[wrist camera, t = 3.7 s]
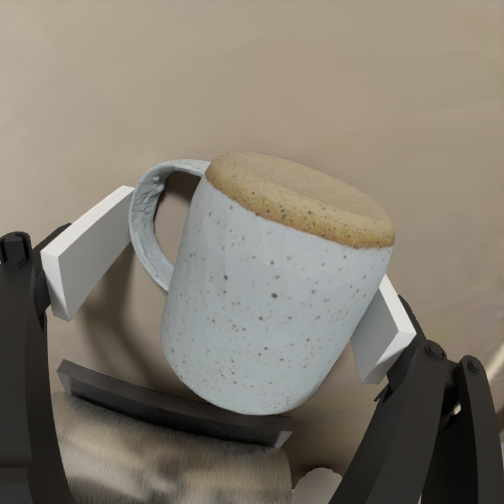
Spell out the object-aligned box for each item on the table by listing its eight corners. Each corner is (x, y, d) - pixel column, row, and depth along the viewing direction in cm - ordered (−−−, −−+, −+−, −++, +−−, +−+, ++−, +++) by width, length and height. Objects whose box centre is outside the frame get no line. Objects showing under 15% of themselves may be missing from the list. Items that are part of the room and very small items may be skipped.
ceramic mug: (374, 182, 13) (454, 268, 6) (312, 313, 17) (324, 432, 10) (155, 118, 12) (44, 149, 6) (135, 264, 16) (68, 362, 10)
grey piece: (307, 395, 21) (313, 582, 8) (255, 465, 30) (248, 572, 16) (54, 331, 20) (-28, 480, 7) (90, 424, 28) (55, 522, 15)
